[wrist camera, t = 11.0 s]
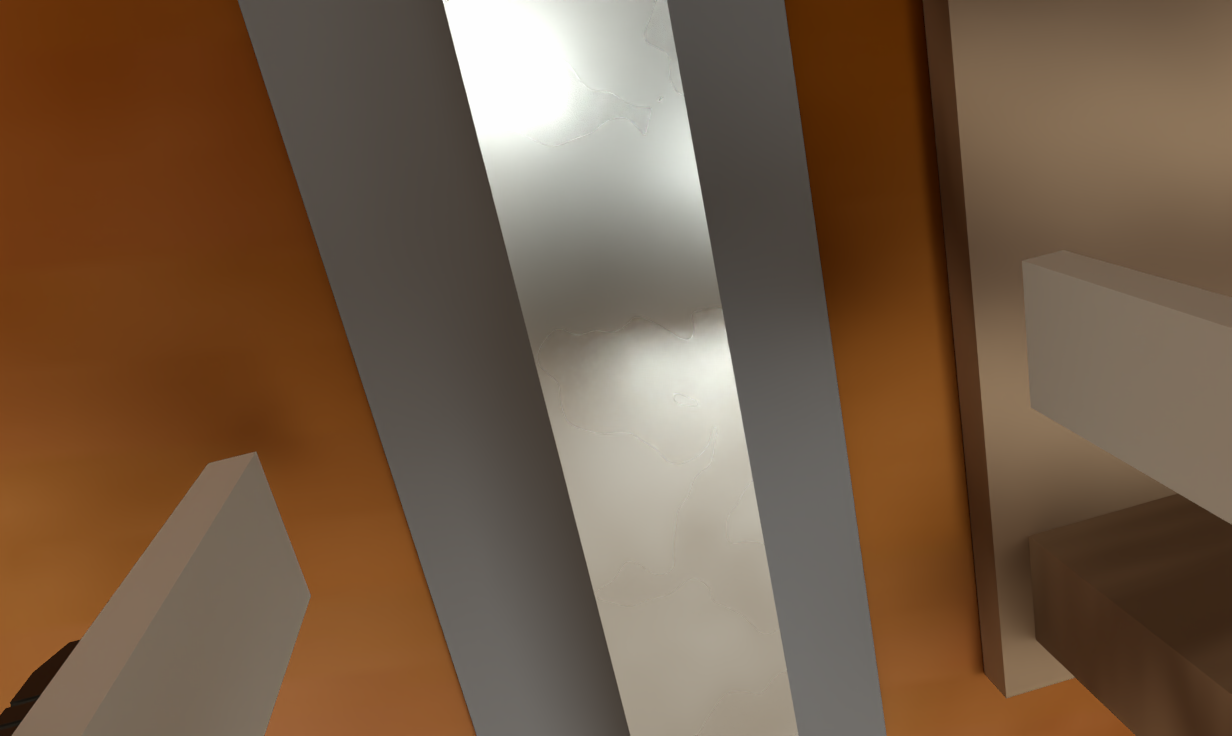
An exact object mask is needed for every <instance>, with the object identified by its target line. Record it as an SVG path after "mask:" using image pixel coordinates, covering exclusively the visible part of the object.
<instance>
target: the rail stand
mask: <svg viewBox="0 0 1232 736" xmlns="http://www.w3.org/2000/svg"><path fill="white" fill-rule="evenodd" d="M923 10H924V21H925V32H926V42H927V53H928V64H929V75H930V86H931V97H932V108H933V118H934V129H935V140H936V151H937V162H938V173H939V184H940V194H941V205H942V216H943V227H944V238H945V249H946V260H947V270H948V281H949V292H950V303H951V314H952V325H953V336H954V346H955V357H956V368H957V379H958V390H959V401H960V412H961V422H962V433H963V444H964V455H965V466H966V477H967V488H968V498H969V509H970V520H971V531H972V542H973V553H974V564H975V574H976V585H977V596H978V607H979V618H980V629H981V640H982V650H983V661H984V672H985V675H986V676H987V677H988V678H989V679H990V681H991V682H992V683H993V684H994V685H995V686H996V687H997V688H998V689H999V691H1000V692H1001V693H1002V694H1003V695H1004V696H1005V697H1006V698H1009V697H1012V696H1015V695H1019V694H1022V693H1025V692H1029V691H1032V690H1035V689H1039V688H1042V687H1045V686H1049V685H1052V684H1055V683H1059V682H1062V681H1065V680H1069V679H1072V678H1076V679H1077V680H1078V681H1079V682H1081V683H1082V684H1083V685H1084V686H1085V687H1086V688H1087V689H1088V690H1089V691H1090V692H1091V693H1092V694H1093V695H1094V696H1095V697H1096V698H1097V699H1098V700H1099V701H1100V702H1101V703H1103V704H1104V705H1105V706H1106V707H1107V708H1108V709H1109V710H1110V711H1111V712H1112V713H1113V714H1114V715H1115V716H1116V717H1117V718H1118V719H1119V720H1120V721H1121V722H1122V723H1123V724H1125V725H1126V726H1127V727H1128V728H1129V729H1130V730H1131V731H1132V732H1133V733H1134V734H1135V735H1136V736H1232V524H1230V523H1228V522H1226V521H1225V520H1223V519H1221V518H1220V517H1218V516H1216V515H1214V514H1213V513H1211V512H1209V511H1208V510H1206V509H1204V508H1202V507H1201V506H1199V505H1197V504H1196V503H1194V502H1192V501H1190V500H1189V499H1187V498H1185V497H1184V496H1182V495H1180V494H1178V493H1177V492H1175V491H1173V490H1172V489H1170V488H1168V487H1166V486H1165V485H1163V484H1161V483H1160V482H1158V481H1156V480H1154V479H1153V478H1151V477H1149V476H1148V475H1146V474H1144V473H1142V472H1141V471H1139V470H1137V469H1136V468H1134V467H1132V466H1130V465H1129V464H1127V463H1125V462H1124V461H1122V460H1120V459H1118V458H1117V457H1115V456H1113V455H1112V454H1110V453H1108V452H1106V451H1105V450H1103V449H1101V448H1100V447H1098V446H1096V445H1094V444H1093V443H1091V442H1089V441H1088V440H1086V439H1084V438H1082V437H1081V436H1079V435H1077V434H1076V433H1074V432H1072V431H1070V430H1069V429H1067V428H1065V427H1064V426H1062V425H1060V424H1058V423H1057V422H1055V421H1053V420H1052V419H1050V418H1048V417H1046V416H1045V415H1043V414H1041V413H1040V412H1038V411H1036V410H1034V409H1033V408H1031V404H1030V387H1029V370H1028V353H1027V336H1026V320H1025V303H1024V286H1023V269H1022V261H1023V260H1027V259H1031V258H1035V257H1039V256H1043V255H1047V254H1051V253H1055V252H1059V251H1063V250H1065V251H1068V252H1072V253H1075V254H1079V255H1082V256H1086V257H1090V258H1093V259H1097V260H1100V261H1104V262H1107V263H1111V264H1114V265H1118V266H1122V267H1125V268H1129V269H1132V270H1136V271H1139V272H1143V273H1146V274H1150V275H1154V276H1157V277H1161V278H1164V279H1168V280H1171V281H1175V282H1178V283H1182V284H1186V285H1189V286H1193V287H1196V288H1200V289H1203V290H1207V291H1210V292H1214V293H1218V294H1221V295H1225V296H1228V297H1232V0H923Z"/></svg>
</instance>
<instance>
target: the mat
mask: <svg viewBox="0 0 1232 736" xmlns="http://www.w3.org/2000/svg"><path fill="white" fill-rule="evenodd" d="M238 2H239V6H240V9H241V12H242V15H243V18H244V21H245V24H246V27H247V30H248V33H249V36H250V39H251V42H252V45H253V49H254V52H255V55H256V58H257V61H258V64H259V67H260V70H261V73H262V76H263V79H264V82H265V85H266V89H267V92H268V95H269V98H270V101H271V104H272V107H273V110H274V113H275V116H276V119H277V122H278V125H279V129H280V132H281V135H282V138H283V141H284V144H285V147H286V150H287V153H288V156H289V159H290V162H291V165H292V169H293V172H294V175H295V178H296V181H297V184H298V187H299V190H300V193H301V196H302V199H303V202H304V205H305V209H306V212H307V215H308V218H309V221H310V224H311V227H312V230H313V233H314V236H315V239H316V242H317V245H318V249H319V252H320V255H321V258H322V261H323V264H324V267H325V270H326V273H327V276H328V279H329V282H330V285H331V289H332V292H333V295H334V298H335V301H336V304H337V307H338V310H339V313H340V316H341V319H342V322H343V325H344V329H345V332H346V335H347V338H348V341H349V344H350V347H351V350H352V353H353V356H354V359H355V362H356V365H357V369H358V372H359V375H360V378H361V381H362V384H363V387H364V390H365V393H366V396H367V399H368V402H369V405H370V409H371V412H372V415H373V418H374V421H375V424H376V427H377V430H378V433H379V436H380V439H381V442H382V445H383V449H384V452H385V455H386V458H387V461H388V464H389V467H390V470H391V473H392V476H393V479H394V482H395V485H396V489H397V492H398V495H399V498H400V501H401V504H402V507H403V510H404V513H405V516H406V519H407V522H408V525H409V529H410V532H411V535H412V538H413V541H414V544H415V547H416V550H417V553H418V556H419V559H420V562H421V565H422V569H423V572H424V575H425V578H426V581H427V584H428V587H429V590H430V593H431V596H432V599H433V602H434V605H435V609H436V612H437V615H438V618H439V621H440V624H441V627H442V630H443V633H444V636H445V639H446V642H447V645H448V649H449V652H450V655H451V658H452V661H453V664H454V667H455V670H456V673H457V676H458V679H459V682H460V685H461V689H462V692H463V695H464V698H465V701H466V704H467V707H468V710H469V713H470V716H471V719H472V722H473V725H474V729H475V732H476V735H477V736H630V732H629V728H628V724H627V720H626V717H625V713H624V709H623V705H622V701H621V697H620V693H619V689H618V685H617V681H616V677H615V673H614V670H613V666H612V662H611V658H610V654H609V650H608V646H607V642H606V638H605V634H604V630H603V626H602V623H601V619H600V615H599V611H598V607H597V603H596V599H595V595H594V591H593V587H592V583H591V579H590V576H589V572H588V568H587V564H586V560H585V556H584V552H583V548H582V544H581V540H580V536H579V532H578V529H577V525H576V521H575V517H574V513H573V509H572V505H571V501H570V497H569V493H568V489H567V485H566V482H565V478H564V474H563V470H562V466H561V462H560V458H559V454H558V450H557V446H556V442H555V439H554V435H553V431H552V427H551V423H550V419H549V415H548V411H547V407H546V403H545V399H544V395H543V392H542V388H541V384H540V380H539V376H538V372H537V368H536V364H535V360H534V356H533V352H532V348H531V345H530V341H529V337H528V333H527V329H526V325H525V321H524V317H523V313H522V309H521V305H520V301H519V298H518V294H517V290H516V286H515V282H514V278H513V274H512V270H511V266H510V262H509V258H508V254H507V251H506V247H505V243H504V239H503V235H502V231H501V227H500V223H499V219H498V215H497V211H496V208H495V204H494V200H493V196H492V192H491V188H490V184H489V180H488V176H487V172H486V168H485V164H484V161H483V157H482V153H481V149H480V145H479V141H478V137H477V133H476V129H475V125H474V121H473V117H472V114H471V110H470V106H469V102H468V98H467V94H466V90H465V86H464V82H463V78H462V74H461V70H460V67H459V63H458V59H457V55H456V51H455V47H454V43H453V39H452V35H451V31H450V27H449V23H448V20H447V16H446V12H445V8H444V4H443V0H238ZM667 3H668V9H669V15H670V20H671V26H672V31H673V37H674V42H675V48H676V54H677V59H678V65H679V70H680V76H681V82H682V87H683V93H684V98H685V104H686V109H687V115H688V121H689V126H690V132H691V137H692V143H693V149H694V154H695V160H696V165H697V171H698V176H699V182H700V188H701V193H702V199H703V204H704V210H705V216H706V221H707V227H708V232H709V238H710V243H711V249H712V255H713V260H714V266H715V271H716V277H717V283H718V288H719V294H720V299H721V305H722V311H723V316H724V322H725V327H726V333H727V338H728V344H729V350H730V355H731V361H732V366H733V372H734V378H735V383H736V389H737V394H738V400H739V405H740V411H741V417H742V422H743V428H744V433H745V439H746V445H747V450H748V456H749V461H750V467H751V472H752V478H753V484H754V489H755V495H756V500H757V506H758V512H759V517H760V523H761V528H762V534H763V539H764V545H765V551H766V556H767V562H768V567H769V573H770V579H771V584H772V590H773V595H774V601H775V606H776V612H777V618H778V623H779V629H780V634H781V640H782V646H783V651H784V657H785V662H786V668H787V673H788V679H789V685H790V690H791V696H792V701H793V707H794V713H795V718H796V724H797V729H798V735H799V736H886V729H885V721H884V714H883V707H882V700H881V693H880V686H879V678H878V671H877V664H876V657H875V650H874V642H873V635H872V628H871V621H870V614H869V607H868V599H867V592H866V585H865V578H864V571H863V563H862V556H861V549H860V542H859V535H858V527H857V520H856V513H855V506H854V499H853V492H852V484H851V477H850V470H849V463H848V456H847V448H846V441H845V434H844V427H843V420H842V413H841V405H840V398H839V391H838V384H837V377H836V369H835V362H834V355H833V348H832V341H831V334H830V326H829V319H828V312H827V305H826V298H825V290H824V283H823V276H822V269H821V262H820V255H819V247H818V240H817V233H816V226H815V219H814V211H813V204H812V197H811V190H810V183H809V176H808V168H807V161H806V154H805V147H804V140H803V132H802V125H801V118H800V111H799V104H798V97H797V89H796V82H795V75H794V68H793V61H792V53H791V46H790V39H789V32H788V25H787V18H786V10H785V3H784V0H667Z"/></svg>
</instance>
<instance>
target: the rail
mask: <svg viewBox="0 0 1232 736" xmlns="http://www.w3.org/2000/svg"><path fill="white" fill-rule="evenodd" d="M443 4H444V8H445V12H446V16H447V20H448V23H449V27H450V31H451V35H452V39H453V43H454V47H455V51H456V55H457V59H458V63H459V67H460V70H461V74H462V78H463V82H464V86H465V90H466V94H467V98H468V102H469V106H470V110H471V114H472V117H473V121H474V125H475V129H476V133H477V137H478V141H479V145H480V149H481V153H482V157H483V161H484V164H485V168H486V172H487V176H488V180H489V184H490V188H491V192H492V196H493V200H494V204H495V208H496V211H497V215H498V219H499V223H500V227H501V231H502V235H503V239H504V243H505V247H506V251H507V254H508V258H509V262H510V266H511V270H512V274H513V278H514V282H515V286H516V290H517V294H518V298H519V301H520V305H521V309H522V313H523V317H524V321H525V325H526V329H527V333H528V337H529V341H530V345H531V348H532V352H533V356H534V360H535V364H536V368H537V372H538V376H539V380H540V384H541V388H542V392H543V395H544V399H545V403H546V407H547V411H548V415H549V419H550V423H551V427H552V431H553V435H554V439H555V442H556V446H557V450H558V454H559V458H560V462H561V466H562V470H563V474H564V478H565V482H566V485H567V489H568V493H569V497H570V501H571V505H572V509H573V513H574V517H575V521H576V525H577V529H578V532H579V536H580V540H581V544H582V548H583V552H584V556H585V560H586V564H587V568H588V572H589V576H590V579H591V583H592V587H593V591H594V595H595V599H596V603H597V607H598V611H599V615H600V619H601V623H602V626H603V630H604V634H605V638H606V642H607V646H608V650H609V654H610V658H611V662H612V666H613V670H614V673H615V677H616V681H617V685H618V689H619V693H620V697H621V701H622V705H623V709H624V713H625V717H626V720H627V724H628V728H629V732H630V736H799V735H798V729H797V724H796V718H795V713H794V707H793V701H792V696H791V690H790V685H789V679H788V673H787V668H786V662H785V657H784V651H783V646H782V640H781V634H780V629H779V623H778V618H777V612H776V606H775V601H774V595H773V590H772V584H771V579H770V573H769V567H768V562H767V556H766V551H765V545H764V539H763V534H762V528H761V523H760V517H759V512H758V506H757V500H756V495H755V489H754V484H753V478H752V472H751V467H750V461H749V456H748V450H747V445H746V439H745V433H744V428H743V422H742V417H741V411H740V405H739V400H738V394H737V389H736V383H735V378H734V372H733V366H732V361H731V355H730V350H729V344H728V338H727V333H726V327H725V322H724V316H723V311H722V305H721V299H720V294H719V288H718V283H717V277H716V271H715V266H714V260H713V255H712V249H711V243H710V238H709V232H708V227H707V221H706V216H705V210H704V204H703V199H702V193H701V188H700V182H699V176H698V171H697V165H696V160H695V154H694V149H693V143H692V137H691V132H690V126H689V121H688V115H687V109H686V104H685V98H684V93H683V87H682V82H681V76H680V70H679V65H678V59H677V54H676V48H675V42H674V37H673V31H672V26H671V20H670V15H669V9H668V3H667V0H443Z"/></svg>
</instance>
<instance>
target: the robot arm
mask: <svg viewBox="0 0 1232 736" xmlns="http://www.w3.org/2000/svg"><path fill="white" fill-rule="evenodd" d="M1022 269H1023V286H1024V303H1025V320H1026V336H1027V353H1028V370H1029V387H1030V404H1031V408H1033V409H1034V410H1036V411H1038V412H1040V413H1041V414H1043V415H1045V416H1046V417H1048V418H1050V419H1052V420H1053V421H1055V422H1057V423H1058V424H1060V425H1062V426H1064V427H1065V428H1067V429H1069V430H1070V431H1072V432H1074V433H1076V434H1077V435H1079V436H1081V437H1082V438H1084V439H1086V440H1088V441H1089V442H1091V443H1093V444H1094V445H1096V446H1098V447H1100V448H1101V449H1103V450H1105V451H1106V452H1108V453H1110V454H1112V455H1113V456H1115V457H1117V458H1118V459H1120V460H1122V461H1124V462H1125V463H1127V464H1129V465H1130V466H1132V467H1134V468H1136V469H1137V470H1139V471H1141V472H1142V473H1144V474H1146V475H1148V476H1149V477H1151V478H1153V479H1154V480H1156V481H1158V482H1160V483H1161V484H1163V485H1165V486H1166V487H1168V488H1170V489H1172V490H1173V491H1175V492H1177V493H1178V494H1180V495H1182V496H1184V497H1185V498H1187V499H1189V500H1190V501H1192V502H1194V503H1196V504H1197V505H1199V506H1201V507H1202V508H1204V509H1206V510H1208V511H1209V512H1211V513H1213V514H1214V515H1216V516H1218V517H1220V518H1221V519H1223V520H1225V521H1226V522H1228V523H1230V524H1232V297H1228V296H1225V295H1221V294H1218V293H1214V292H1210V291H1207V290H1203V289H1200V288H1196V287H1193V286H1189V285H1186V284H1182V283H1178V282H1175V281H1171V280H1168V279H1164V278H1161V277H1157V276H1154V275H1150V274H1146V273H1143V272H1139V271H1136V270H1132V269H1129V268H1125V267H1122V266H1118V265H1114V264H1111V263H1107V262H1104V261H1100V260H1097V259H1093V258H1090V257H1086V256H1082V255H1079V254H1075V253H1072V252H1068V251H1065V250H1063V251H1059V252H1055V253H1051V254H1047V255H1043V256H1039V257H1035V258H1031V259H1027V260H1023V261H1022ZM310 597H311V595H310V592H309V589H308V587H307V584H306V582H305V579H304V576H303V574H302V571H301V568H300V566H299V563H298V560H297V558H296V555H295V553H294V550H293V547H292V545H291V542H290V539H289V537H288V534H287V531H286V529H285V526H284V524H283V521H282V518H281V516H280V513H279V510H278V508H277V505H276V502H275V500H274V497H273V495H272V492H271V489H270V487H269V484H268V481H267V479H266V476H265V474H264V471H263V468H262V466H261V463H260V460H259V458H258V455H257V452H252V453H248V454H244V455H240V456H236V457H232V458H228V459H224V460H220V461H216V462H212V463H208V464H207V466H206V467H205V469H204V470H203V471H202V473H201V474H200V475H199V477H198V478H197V480H196V481H195V482H194V484H193V485H192V487H191V488H190V489H189V491H188V492H187V493H186V495H185V496H184V498H183V499H182V500H181V502H180V503H179V505H178V506H177V507H176V509H175V510H174V511H173V513H172V514H171V516H170V517H169V518H168V520H167V521H166V523H165V524H164V525H163V527H162V528H161V529H160V531H159V532H158V534H157V535H156V536H155V538H154V539H153V541H152V542H151V543H150V545H149V546H148V547H147V549H146V550H145V552H144V553H143V554H142V556H141V557H140V558H139V560H138V561H137V563H136V564H135V565H134V567H133V568H132V570H131V571H130V572H129V574H128V575H127V576H126V578H125V579H124V581H123V582H122V583H121V585H120V586H119V588H118V589H117V590H116V592H115V593H114V594H113V596H112V597H111V599H110V600H109V601H108V603H107V604H106V606H105V607H104V608H103V610H102V611H101V612H100V614H99V615H98V617H97V618H96V619H95V621H94V622H93V624H92V625H91V626H90V628H89V629H88V630H87V632H86V633H85V635H84V636H83V637H82V639H81V640H77V641H73V642H70V643H68V644H67V645H66V646H64V647H63V648H62V649H61V650H60V651H58V652H57V653H56V654H55V655H54V656H52V657H51V658H50V659H49V660H48V661H46V662H45V663H44V664H43V665H42V666H40V667H39V668H38V669H37V670H35V671H34V672H33V673H32V675H31V676H30V677H29V678H28V680H27V681H26V682H25V684H24V685H23V686H22V688H21V689H20V690H19V692H18V693H17V694H16V695H15V697H14V698H13V699H12V701H11V702H10V704H11V707H9V708H6V709H5V710H4V711H3V713H2V714H1V715H0V736H264V735H265V732H266V729H267V726H268V723H269V720H270V717H271V714H272V711H273V708H274V705H275V702H276V699H277V696H278V693H279V690H280V687H281V684H282V681H283V678H284V675H285V672H286V669H287V666H288V663H289V660H290V657H291V654H292V651H293V648H294V645H295V642H296V639H297V636H298V633H299V630H300V627H301V624H302V621H303V618H304V615H305V612H306V609H307V606H308V603H309V600H310Z"/></svg>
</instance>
